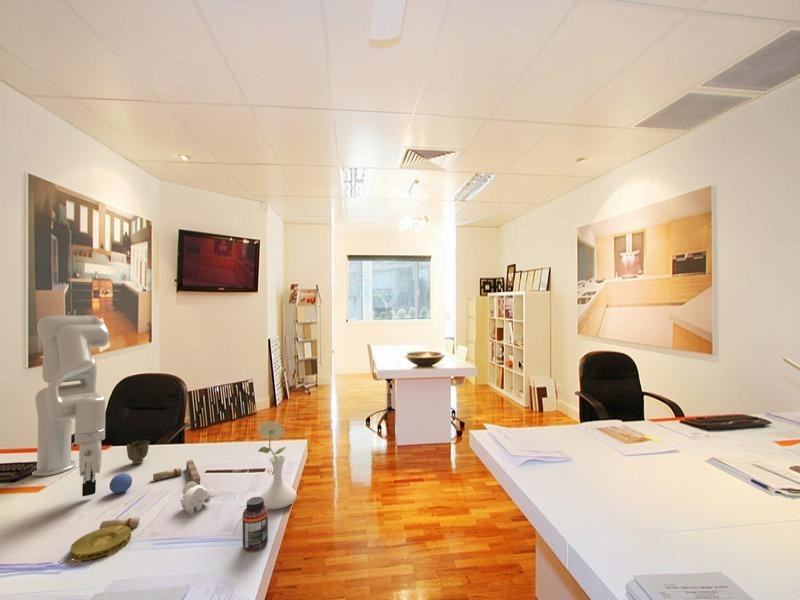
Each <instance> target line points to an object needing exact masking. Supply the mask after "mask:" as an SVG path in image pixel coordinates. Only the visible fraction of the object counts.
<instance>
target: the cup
mask: <svg viewBox="0 0 800 600" xmlns="http://www.w3.org/2000/svg"><path fill="white" fill-rule="evenodd" d="M125 446H126V453H127V457H128V459H129V460H130V461H131V463H132V465H136V466H137V465H141V464H143V463H144V459H145V458H146V457H147V455H148V452H149V447H150V441H149V440H145V439H144V440H136V441H131V444H129V443H127V444H126V445H125Z"/></svg>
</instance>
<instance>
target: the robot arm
mask: <svg viewBox="0 0 800 600" xmlns="http://www.w3.org/2000/svg"><path fill="white" fill-rule="evenodd" d="M36 326H37V334H38V336H39V339H40V342H41V343H42V347H43V348H42V349H43V353H42V354H43V356H42V369H41V370H42V380H43V381H44V382H45V383H47V384H48V385H47V387H45V388H42V389H40V390H39V391H37V393H36V394H35V397H34V399H35V400H34V401H35V408H36V413H37V446H36V447H37V448H36V449H37V452H36V453H37V456H36V457H37V459H36V468H37V470H36V471H34V472H32V475H31V476H32V477H47V476H53V475H57V474H61V473H65V472H67V471H70V470H72V469H73V468H75V467H76V466H77V462H76V461H75V460H72V459H71V458H72V457H71V456H72V424H73V423H72V419H74V421H75V422H74V445H77V446H78V445H79V451H78V456H79V457H78V461H79V462H78V463H79V464H78V465H79V466H78V467H79V477H81V478H82V477H83V478H82V479H83V480H82V486H81V488H82V490H81V491H82V492H81V496H82V497H88V496H92V495H95V494H96V491H97V490H96V489H97V488H96V487H97V485H96V484H97V483H96V482H97V480H96V474H99V473H100V472H101V470H102V469H101V468H102V441H104V440H105V439H106V406H107V405H106V402H107V401H106V398H105V397H104V396H103V395H102V394H101V393H99V392H96V390H97V387H96V386H97V372H98V370H97V362H96V359H94V357H93V355H92V350H91V349H92V348H99V347H100V348H101V347H105V346H106V345H108V343H109V341H110V332H109V329H108V327H107V326H106V324H105V322H103V321H102V319H100V318H99V317H97V316H96V315H87V314H86V315H66V314H65V315H48V316H44V317H42V318H40V319H39V320H38V322H37V325H36ZM70 382H78V383H71V384H62V383H70ZM61 384H62V385H61Z"/></svg>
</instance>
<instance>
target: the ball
mask: <svg viewBox="0 0 800 600" xmlns="http://www.w3.org/2000/svg"><path fill="white" fill-rule="evenodd" d="M132 483H133V478H132V475H130V474H128V473H126V472H125V473H124V472H123V473H122V472H121V473H119V474H117V475H115V476H114V477H112V479H111V480H110V482H109V489H110V491H111V492H112V493H114V494H123V493H124V492H126V491H128V490H129V489H130V488H131V486H132Z"/></svg>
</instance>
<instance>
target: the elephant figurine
mask: <svg viewBox="0 0 800 600" xmlns="http://www.w3.org/2000/svg"><path fill="white" fill-rule="evenodd" d="M182 495H183V496H182V498H181V499H178V502H180V503H181V507H182V509H183V510H184V511H185V512H186V513H187V514H188V513H190V514H193V513H194V511H195V510H196V511H197V510H198V511H200V509H201V510H202V508H203V504H208V503H210V501H211V498H215V496H214V495H211V493H210V492H209V491H208V490H207V488H205V487H204V486H203V485H201V484H200V485H198V484H197V483H196V482H194V481H191V480H190V481H188V482H187V483H186V484H185V486H184V487H183V489H182ZM192 512H193V513H192Z"/></svg>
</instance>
